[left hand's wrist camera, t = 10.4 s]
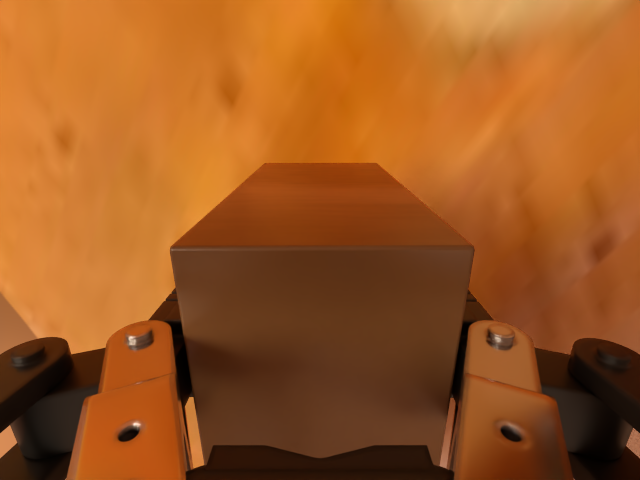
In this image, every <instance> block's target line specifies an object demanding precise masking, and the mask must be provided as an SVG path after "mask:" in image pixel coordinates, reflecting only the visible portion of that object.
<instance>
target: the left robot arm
mask: <svg viewBox="0 0 640 480" xmlns="http://www.w3.org/2000/svg"><path fill="white" fill-rule="evenodd" d="M189 397H193V391H192V384H191V378H190V372H189V366H188V360H187V353H186V347H185V341H184V335H183V329H182V323H181V316H180V310H179V304H178V298H177V292H176V288H175V289H174V290H173V291H172V294H170V295H169V296H168V297H167V298H166V301H164V302H163V303H162V304H161V306H160V307H159V308H158V309H157V310H156V312H155V313H154V314H153V315H152V317H151V318H150V319H149V320H148V321H141V322H137V323H134V324H131V325H128V326H126V327H124V328H122V329H120V330H118V331H117V332H115V333H114V334H113V335H112V336H111V337H110V338H109V340H108V341H107V344H106V348H102V349H97V350H92V351H87V352H82V353H77V354H71V352H70V349H69V345H68V343H67V341H66V340H65V339H62V338H58V337H46V338H40V339H35V340H32V341H28V342H25V343H22V344H20V345H18V346H15V347H13V348H11V349H9V350H7V351H6V352H4V353H2V354H1V355H0V433H1V432H2V431H3V430H4V429H6V428H7V427H8V426H9V425H10V426H11V428H12V431H13V433H14V436H15V438H16V440H17V444H16V445H15V446H13V447H12V448H11V449H10V450H9V451H8V452H7V453H6V454H5V455H4V456H3V457H1V458H0V480H65V479H66V478H67V479H66V480H574V479H575V480H640V458H639V457H637V456H636V455H635V454H634V453H633V452H632V451H631V450H630V449H629V448H628V447H627V446H626V444H627V441H628V439H629V437H630V434H631V432H632V429H633V428H634V429H636V430H637V431H638V432H639V433H640V355H639V354H638V353H636V352H634V351H633V350H631V349H629V348H626V347H624V346H622V345H619V344H616V343H613V342H610V341H606V340H602V339H595V338H583V339H579V340H577V341H576V342H575V343H574V344H573V348H572V351H571V354H570V355H568V354H563V353H558V352H552V351H547V350H542V349H538V348H534V344H533V341H532V340H531V338H530V337H529V336H528V335H527V334H526V333H525V332H523V331H522V330H520V329H518V328H516V327H514V326H512V325H509V324H506V323H503V322H499V321H494V320H493V319H492V318H491V316H490V315H489V314H488V313H487V312H486V310H485V309H484V308H483V307H482V306H481V304H480V303H479V302H477V300H476V298H475V297H474V296H473V295H472V294H471V293H470V291H469V290H468V293H467V299H466V305H465V311H464V317H463V323H462V330H461V336H460V342H459V348H458V354H457V360H456V366H455V373H454V379H453V385H452V391H451V397H450V398H454V400H455V402H456V405H455V410H454V416H453V424H452V432H451V439H450V447H449V455H448V462H447V469H446V468H443V467H440V466H437V465H433V462H432V459H431V456H430V453H429V450H428V447H427V445H373V446H369V447H365V448H361V449H357V450H353V451H349V452H345V453H341V454H337V455H333V456H329V457H325V458H315V457H311V456H307V455H303V454H299V453H295V452H291V451H287V450H283V449H279V448H275V447H271V446H267V445H213V447H212V450H211V453H210V456H209V459H208V462H207V465H203V466H200V467H197V468H194V469H193V462H192V455H191V447H190V439H189V432H188V424H187V416H186V410H185V405H186V403H187V401H188V399H189ZM573 478H574V479H573Z"/></svg>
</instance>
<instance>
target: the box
mask: <svg viewBox="0 0 640 480" xmlns="http://www.w3.org/2000/svg"><path fill="white" fill-rule="evenodd" d="M170 255H171V261H172V267H173V273H174V279H175V286H176V292H177V298H178V304H179V310H180V316H181V323H182V329H183V335H184V341H185V347H186V353H187V360H188V366H189V372H190V378H191V384H192V391H193V397H194V403H195V409H196V415H197V421H198V428H199V434H200V440H201V446H202V452H203V458H204V465H207V462H208V459H209V456H210V453H211V450H212V447H213V445H267V446H271V447H275V448H279V449H283V450H287V451H291V452H295V453H299V454H303V455H307V456H311V457H315V458H325V457H329V456H333V455H337V454H341V453H345V452H349V451H353V450H357V449H361V448H365V447H369V446H373V445H427V447H428V450H429V453H430V456H431V459H432V462H433V465H437V466H439V465H440V458H441V452H442V446H443V440H444V434H445V428H446V422H447V416H448V409H449V403H450V397H451V391H452V385H453V379H454V373H455V366H456V360H457V354H458V348H459V342H460V336H461V330H462V323H463V317H464V311H465V305H466V299H467V293H468V287H469V280H470V274H471V268H472V262H473V256H474V246H473V245H472V244H470V243H469V242H468V241H467V240H466V239H465V238H463V237H462V236H461V235H460V234H459V233H458V232H456V231H455V230H454V229H453V228H452V227H451V226H449V225H448V224H447V223H446V222H445V221H444V220H442V219H441V218H440V217H439V216H438V215H437V214H435V213H434V212H433V211H432V210H431V209H430V208H428V207H427V206H426V205H425V204H424V203H423V202H421V201H420V200H419V199H418V198H417V197H416V196H414V195H413V194H412V193H411V192H410V191H409V190H407V189H406V188H405V187H404V186H403V185H402V184H400V183H399V182H398V181H397V180H396V179H395V178H393V177H392V176H391V175H390V174H389V173H388V172H386V171H385V170H384V169H383V168H382V167H381V166H379V165H378V164H377V163H265V164H263V165H262V166H261V167H260V168H259V169H258V170H257V171H256V172H254V173H253V174H252V175H251V176H250V177H249V178H248V179H247V180H245V181H244V182H243V183H242V184H241V185H240V186H239V187H237V188H236V189H235V190H234V191H233V192H232V193H231V194H230V195H228V196H227V197H226V198H225V199H224V200H223V201H222V202H221V203H219V204H218V205H217V206H216V207H215V208H214V209H213V210H212V211H210V212H209V213H208V214H207V215H206V216H205V217H204V218H203V219H201V220H200V221H199V222H198V223H197V224H196V225H195V226H193V227H192V228H191V229H190V230H189V231H188V232H187V233H186V234H184V235H183V236H182V237H181V238H180V239H179V240H178V241H177V242H175V243H174V244H173V245H172V246H171V248H170Z"/></svg>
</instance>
